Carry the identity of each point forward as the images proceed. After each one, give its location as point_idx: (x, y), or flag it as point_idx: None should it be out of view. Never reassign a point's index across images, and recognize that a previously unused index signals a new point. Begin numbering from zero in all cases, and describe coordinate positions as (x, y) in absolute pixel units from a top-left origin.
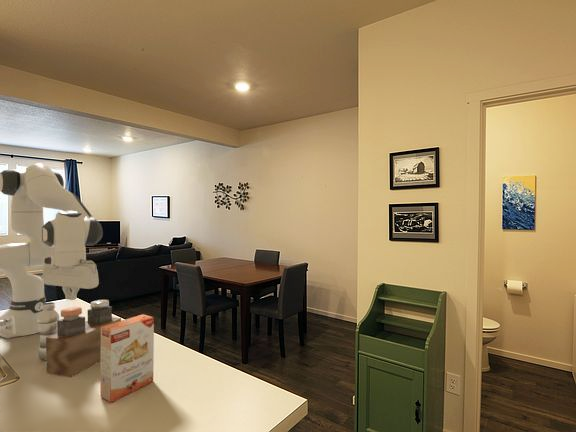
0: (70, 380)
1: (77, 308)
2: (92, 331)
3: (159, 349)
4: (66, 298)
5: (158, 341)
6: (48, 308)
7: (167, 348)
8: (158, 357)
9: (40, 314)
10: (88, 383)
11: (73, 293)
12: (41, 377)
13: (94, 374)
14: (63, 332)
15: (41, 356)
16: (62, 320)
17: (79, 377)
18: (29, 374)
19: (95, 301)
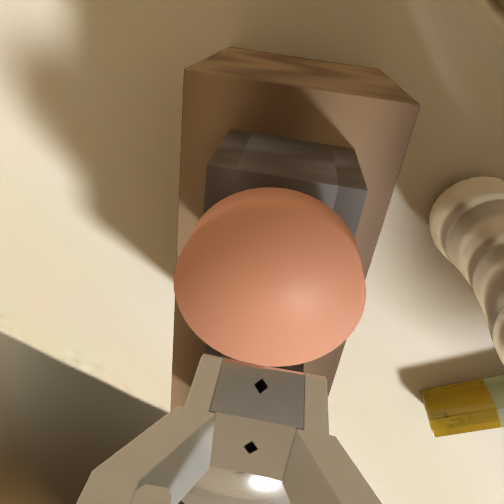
0: (208, 17)
1: (231, 326)
2: (177, 242)
3: (60, 309)
4: (305, 378)
5: (113, 365)
6: None
7: (38, 317)
8: (12, 251)
9: None
10: (104, 3)
11: (151, 430)
12: (374, 23)
13: (144, 88)
14: (297, 147)
15: (493, 178)
16: (320, 198)
17: (189, 51)
18: (461, 43)
19: (275, 498)
